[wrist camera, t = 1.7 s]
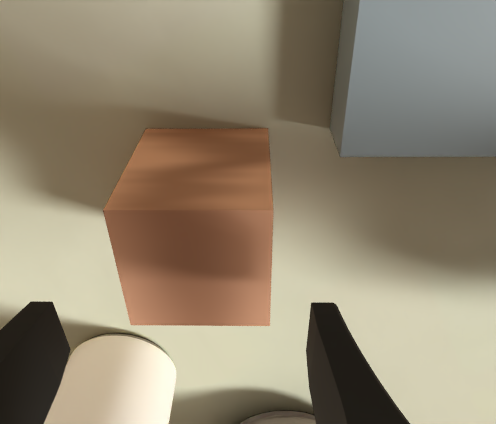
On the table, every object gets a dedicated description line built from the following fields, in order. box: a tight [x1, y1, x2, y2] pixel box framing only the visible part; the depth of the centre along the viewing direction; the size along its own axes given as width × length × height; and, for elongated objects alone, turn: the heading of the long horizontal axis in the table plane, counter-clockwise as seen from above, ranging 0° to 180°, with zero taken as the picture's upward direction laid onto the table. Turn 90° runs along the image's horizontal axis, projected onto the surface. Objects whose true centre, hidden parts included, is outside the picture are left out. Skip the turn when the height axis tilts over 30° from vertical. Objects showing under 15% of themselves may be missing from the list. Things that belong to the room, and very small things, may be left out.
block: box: [103, 128, 273, 326], centre depth 16 cm, size 5×5×6 cm
